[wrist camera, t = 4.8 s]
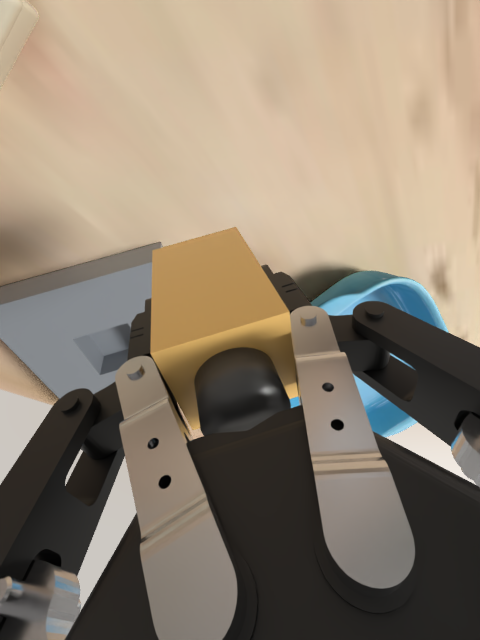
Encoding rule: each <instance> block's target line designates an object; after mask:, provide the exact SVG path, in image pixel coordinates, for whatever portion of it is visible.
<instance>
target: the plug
mask: <svg viewBox="0 0 480 640" xmlns="http://www.w3.org/2000/svg"><path fill="white" fill-rule="evenodd" d="M291 332H292V331H291V321H290V312H289V310H288V309H287V307H286V305H285V304H284V302H283V301H282V299H281V297H280V296H279V294H278V293H277V291H276V290H275V288H274V286H273V285H272V283H271V282H270V280H269V278H268V277H267V275H266V274H265V272H264V271H263V269H262V267H261V266H260V264H259V263H258V261H257V259H256V258H255V256H254V255H253V253H252V252H251V250H250V248H249V247H248V245H247V244H246V242H245V240H244V239H243V237H242V236H241V234H240V233H239V231H238V229H237V228H236V227H234V228H230V229H227V230H223V231H219V232H216V233H212V234H209V235H205V236H202V237H198V238H194V239H191V240H187V241H184V242H180V243H177V244H173V245H169V246H166V247H162V248H159V249H155V250H152V298H151V350H150V354H151V355H152V357H153V359H154V361H155V363H156V365H157V366H158V368H159V370H160V372H161V374H162V375H163V377H164V379H165V381H166V383H167V384H168V386H169V388H170V390H171V392H172V393H173V395H174V397H175V399H176V401H177V402H178V404H179V406H180V408H181V410H182V411H183V413H184V415H185V417H186V419H187V420H188V422H189V424H190V426H191V428H192V430H195V429H198V428H200V429H201V431H202V433H203V435H204V436H207V435H210V434H213V433H224V432H238V431H247V430H249V429H251V428H253V427H255V426H256V425H258V424H259V423H261V422H263V421H264V420H266V419H268V418H269V417H271V416H272V415H274V414H276V413H278V412H281V411H284V410H287V409H290V408H291V403H290V399H292V398H295V397H298V391H297V384H296V376H295V374H296V369H295V360H294V354H293V347H292V340H291Z"/></svg>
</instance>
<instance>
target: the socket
mask: <svg viewBox="0 0 480 640" xmlns="http://www.w3.org/2000/svg"><path fill="white" fill-rule="evenodd" d="M159 248H162V244H161V242H158V243H155V244H151V245H147V246H144V247H140V248H137V249H133V250H130V251H126V252H122V253H119V254H115V255H112V256H108V257H105V258H101V259H97V260H94V261H90V262H87V263H83V264H79V265H76V266H72V267H69V268H65V269H62V270H58V271H54V272H51V273H47V274H44V275H40V276H37V277H33V278H29V279H26V280H22V281H19V282H15V283H11V284H8V285H4V286H1V287H0V339H1V340H2V341H3V342H4V343H5V344H6V345H7V346H8V347H9V348H10V349H11V350H12V351H13V352H14V353H15V354H16V355H17V356H18V357H19V358H20V359H21V360H22V361H23V362H24V363H25V364H26V365H27V366H28V367H29V368H30V369H31V370H32V371H33V372H34V373H35V374H36V375H37V376H38V377H39V378H40V379H41V381H42V382H43V383H44V384H45V385H46V386H47V387H48V388H49V389H50V390H51V391H52V392H53V393H54V394H55V395H56V396H57V397H58V398H59V399H60V398H61V397H62V396H64V395H65V394H67V393H68V392H70V391H73V390H75V389H79V388H86V389H89V390H90V391H91V392H92V393H93V394H95V393H97V392H98V391H100V390H102V389H104V388H105V387H107V386H109V385H111V384H112V383H114V382H115V375H116V373H117V371H118V369H119V368H120V367H121V366H122V365H123V364H124V363H125V362H127V358H128V349H129V340H130V332H131V322H132V321H133V319H134V318H135V316H136V315H137V314H139V313H142V312H145V300H146V299H149V298H152V250H155V249H159Z"/></svg>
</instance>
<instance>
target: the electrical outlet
mask: <svg viewBox="0 0 480 640" xmlns="http://www.w3.org/2000/svg"><path fill="white" fill-rule="evenodd" d="M38 19H39V14H38V11H37V10H36V9H35V8H34V7H33V6H32V5H31V4H30V3H29V1H28V0H0V90H1V88H2V86H3V84H4V82H5V80H6V79H7V77H8V75H9V73H10V71H11V69H12V67H13V65H14V64H15V62H16V60H17V58H18V56H19V54H20V52H21V51H22V49H23V47H24V45H25V43H26V41H27V39H28V38H29V36H30V34H31V32H32V30H33V28H34V26H35V25H36V23H37V21H38Z"/></svg>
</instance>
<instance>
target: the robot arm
mask: <svg viewBox="0 0 480 640" xmlns="http://www.w3.org/2000/svg"><path fill="white" fill-rule="evenodd" d="M261 267H262V269H263V271H264V272H265V274H266V275H267V277H268V278H269V280H270V282H271V283H272V285H273V286H274V288H275V290H276V291H277V293H278V294H279V296H280V297H281V299H282V301H283V302H284V304H285V305H286V307H287V309H288V310H289V312H290V321H291V331H292V332H291V340H292V347H293V354H294V360H295V369H296V374H295V376H296V384H297V391H298V398H299V404H300V405H299V406H296V407H293V408H290V409H287V410H284V411H281V412H278V413H276V414H274V415H272V416H271V417H269V418H268V419H266V420H264V421H263V422H261V423H259V424H258V425H256V426H255V427H253V428H251V429H249V430H247V431H238V432H224V433H213V434H210V435H207V436H203V437H200V438H197V439H193V437H192V435H191V433H190V430H189V428H188V426H187V423H186V421H185V419H184V416H183V414H182V412H181V410H180V407H179V405H178V404H177V401H176V399H175V397H174V395H173V393H172V392H171V390H170V388H169V386H168V384H167V383H166V381H165V379H164V377H163V375H162V374H161V372H160V370H159V368H158V366H157V365H156V363H155V361H154V359H153V357H152V355H151V354H150V350H151V298H149V299H146V300H145V312H142V313H139V314H137V315H136V316H135V318H134V319H133V321H132V322H131V332H130V340H129V349H128V358H127V362H125V363H124V364H123V365H122V366H121V367H120V368H119V369H118V371H117V373H116V375H115V382H114V383H112V384H111V385H109V386H107V387H105V388H104V389H102V390H100V391H98V392H97V393H95V394H93V393H92V392H91V391H90V390H89V389H86V388H79V389H75V390H73V391H70V392H68V393H67V394H65V395H64V396H62V397H61V398H60V399H59V400H58V401H57V402H56V403H55V404H54V405H53V407H52V408H51V410H50V411H49V413H48V414H47V416H46V417H45V419H44V420H43V422H42V423H41V425H40V426H39V428H38V429H37V431H36V433H35V434H34V436H33V437H32V438H31V440H30V441H29V443H28V444H27V446H26V447H25V449H24V450H23V452H22V454H21V455H20V456H19V458H18V459H17V461H16V462H15V464H14V465H13V467H12V469H11V470H10V471H9V473H8V474H7V476H6V477H5V479H4V481H3V482H2V483H1V485H0V640H480V348H479V347H477V346H475V345H473V344H471V343H469V342H467V341H465V340H463V339H461V338H458V337H456V336H454V335H452V334H450V333H448V332H446V331H444V330H442V329H440V328H437V327H435V326H433V325H431V324H429V323H427V322H425V321H423V320H421V319H419V318H416V317H414V316H412V315H410V314H408V313H406V312H404V311H402V310H400V309H397V308H395V307H393V306H391V305H389V304H387V303H384V302H380V301H366V302H362V303H360V304H358V305H357V306H355V308H354V309H353V314H352V315H338V316H334V315H328V314H327V312H326V311H325V310H324V309H322V308H320V307H316V306H312V304H311V303H310V302H309V300H308V299H307V298H306V297H305V295H304V294H303V293H302V291H301V290H300V289H299V287H298V286H297V285H296V284H295V282H294V281H293V279H292V278H291V277H290V276H289V275H287V274H285V273H283V272H279V273H275V274H273V273H272V271H271V270H270V268H269V267H268V265H263V266H261ZM390 353H391V354H393V355H395V356H396V357H398V358H400V359H401V360H403V361H404V362H406V363H408V364H409V365H411V366H412V367H413V368H414V369H415V370H414V369H413V368H411V367H409V366H408V365H406V364H404V363H403V362H401V361H400V360H398V359H396V358H395V357H393V356H391V355H390ZM353 374H354V375H355V376H356V377H358V378H359V379H360V380H362V381H363V382H365V383H366V384H367V385H369V386H370V387H371V388H373V389H374V390H375V391H377V392H378V393H379V394H381V395H382V396H383V397H385V398H386V399H387V400H389V401H390V402H391V403H393V404H394V405H396V406H397V407H398V408H400V409H401V410H402V411H404V412H405V413H406V414H408V415H409V416H410V417H412V418H413V419H414V420H416V421H417V422H418V423H420V424H421V425H422V426H424V427H425V428H427V429H428V430H429V431H431V432H432V433H433V434H435V435H436V436H437V437H439V438H440V439H441V440H443V441H444V442H445V443H447V444H448V445H449V446H451V451H452V454H453V456H454V459H455V461H456V462H457V464H458V465H459V466H460V467H461V470H462V472H463V473H464V474H465V475H466V476H467V477H468V478H470V479H472V480H474V482H475V483H476V485H475V484H473V483H471V482H469V481H467V480H465V479H463V478H461V477H459V476H458V475H456V474H454V473H452V472H450V471H448V470H446V469H444V468H442V467H440V466H438V465H436V464H435V463H433V462H431V461H429V460H427V459H425V458H423V457H421V456H419V455H418V454H416V453H414V452H412V451H410V450H408V449H406V448H404V447H402V446H400V445H398V444H396V443H394V442H392V441H391V440H389V439H387V438H385V437H383V436H381V435H379V434H377V433H376V432H374V431H372V428H371V426H370V423H369V420H368V417H367V414H366V411H365V408H364V405H363V402H362V399H361V396H360V393H359V391H358V388H357V385H356V382H355V379H354V376H353ZM80 449H81V450H83V453H82V454H81V456H80V459H79V460H78V462H77V464H76V466H75V468H74V470H73V472H72V474H71V476H70V478H69V480H68V482H67V484H66V486H65V479H66V476H67V474H68V472H69V469H70V468H71V466H72V464H73V462H74V460H75V458H76V456H77V454H78V452H79V451H80ZM124 456H125V458H126V463H127V467H128V472H129V477H130V482H131V487H132V492H133V496H134V501H135V506H136V511H137V513H136V515H135V517H134V519H133V520H132V522H131V524H130V526H129V527H128V529H127V531H126V532H125V534H124V536H123V538H122V539H121V541H120V543H119V545H118V547H117V548H116V550H115V552H114V554H113V556H112V557H111V559H110V561H109V562H108V564H107V566H106V568H105V569H104V571H103V573H102V575H101V576H100V578H99V580H98V582H97V584H96V585H95V587H94V589H93V591H92V592H91V594H90V596H89V598H88V599H87V601H86V603H85V605H84V607H83V608H82V610H81V612H80V608H81V602H80V600H79V596H80V585H79V581H78V578H77V575H78V572H79V570H80V567H81V565H82V562H83V560H84V557H85V555H86V552H87V550H88V547H89V544H90V542H91V540H92V537H93V535H94V532H95V530H96V527H97V525H98V522H99V519H100V517H101V514H102V512H103V509H104V507H105V504H106V501H107V499H108V497H109V494H110V492H111V489H112V487H113V484H114V482H115V479H116V476H117V474H118V471H119V469H120V466H121V464H122V461H123V459H124Z"/></svg>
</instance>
